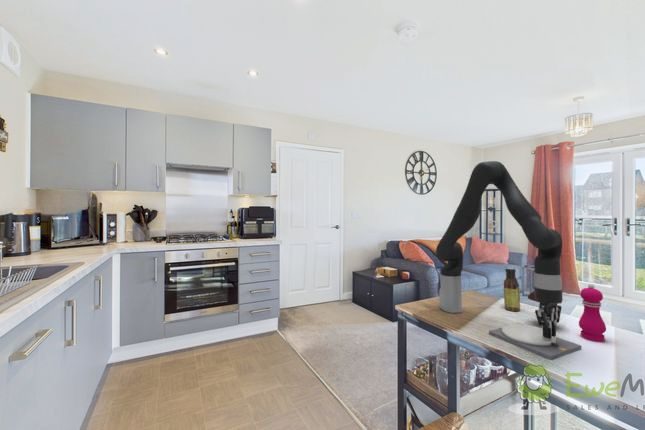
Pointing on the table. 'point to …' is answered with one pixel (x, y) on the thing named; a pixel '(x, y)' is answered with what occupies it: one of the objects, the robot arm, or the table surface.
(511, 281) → the sauce bottle
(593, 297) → the pepper mill
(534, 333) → the cam dial
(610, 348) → the table surface
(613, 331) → the table surface
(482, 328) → the table surface
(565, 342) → the dial base
